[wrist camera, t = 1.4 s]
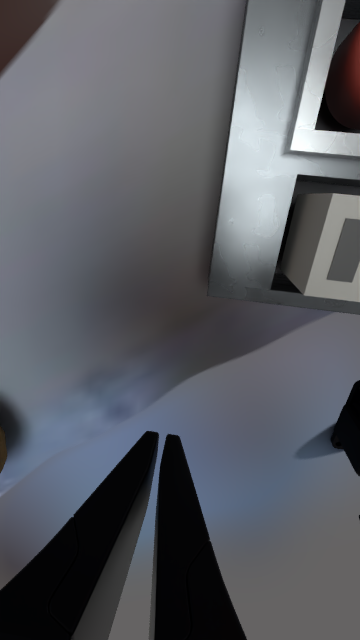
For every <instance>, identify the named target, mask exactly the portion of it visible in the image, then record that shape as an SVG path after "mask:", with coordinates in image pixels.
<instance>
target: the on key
mask: <svg viewBox="0 0 360 640" xmlns="http://www.w3.org/2000/svg"><path fill="white" fill-rule="evenodd" d="M280 270H281V271H282V272H283V273H284V274H285V275H286V276H287V277H288V279H289V280H290V281H291V282H292V283H293V284H294V285H295V286H296V287H297V288H298V289H299V291H300V292H301V293H302V294H303V295H305V296H314V297H322V298H330V299H338V300H347V301H355V302H360V196H356V195H346V194H336V193H322V194H298V195H297V200H296V204H295V208H294V212H293V216H292V220H291V224H290V229H289V233H288V237H287V241H286V245H285V249H284V253H283V258H282V262H281V266H280Z"/></svg>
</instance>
